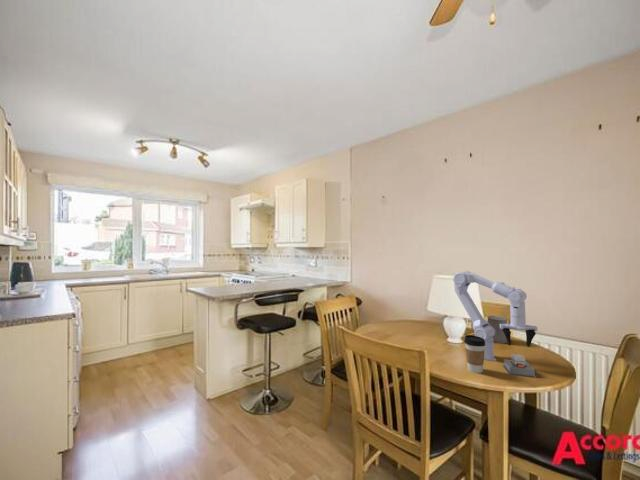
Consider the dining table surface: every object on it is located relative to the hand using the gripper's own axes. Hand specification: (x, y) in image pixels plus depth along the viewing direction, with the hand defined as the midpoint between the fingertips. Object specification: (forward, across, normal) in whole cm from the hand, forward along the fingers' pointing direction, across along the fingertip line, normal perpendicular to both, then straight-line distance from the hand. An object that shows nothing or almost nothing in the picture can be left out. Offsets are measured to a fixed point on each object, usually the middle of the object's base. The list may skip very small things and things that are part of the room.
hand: (518, 345), depth 132 cm
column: (+10, -2, -6) cm, 11 cm away
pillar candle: (+10, +1, +38) cm, 39 cm away
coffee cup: (+10, -20, -10) cm, 25 cm away
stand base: (+10, -2, -6) cm, 12 cm away
